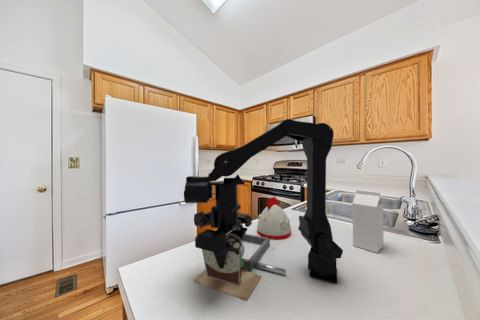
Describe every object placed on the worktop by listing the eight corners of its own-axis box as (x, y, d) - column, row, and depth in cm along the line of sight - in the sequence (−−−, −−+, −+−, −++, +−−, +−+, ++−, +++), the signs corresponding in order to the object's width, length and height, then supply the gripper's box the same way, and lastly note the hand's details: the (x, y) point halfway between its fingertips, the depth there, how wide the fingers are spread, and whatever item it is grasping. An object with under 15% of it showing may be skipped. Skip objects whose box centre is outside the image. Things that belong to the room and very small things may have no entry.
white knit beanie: (250, 232, 78) (249, 197, 78) (270, 224, 87) (270, 192, 87) (277, 243, 68) (276, 202, 68) (297, 232, 77) (296, 196, 77)
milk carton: (377, 253, 59) (376, 194, 59) (352, 245, 65) (352, 191, 65) (383, 246, 64) (383, 191, 64) (360, 239, 69) (359, 189, 69)
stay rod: (286, 273, 50) (285, 268, 50) (284, 276, 49) (284, 271, 49) (251, 264, 55) (251, 259, 54) (250, 267, 53) (249, 262, 53)
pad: (261, 277, 49) (261, 275, 49) (246, 300, 41) (246, 298, 41) (214, 263, 56) (214, 262, 56) (193, 281, 48) (193, 279, 48)
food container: (253, 270, 50) (251, 235, 48) (244, 287, 44) (241, 248, 43) (214, 260, 55) (211, 228, 54) (202, 274, 49) (198, 239, 48)
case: (269, 245, 66) (269, 238, 66) (250, 272, 51) (249, 263, 51) (240, 239, 72) (239, 232, 72) (213, 261, 56) (213, 253, 56)
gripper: (220, 193, 60) (221, 241, 60) (176, 207, 43) (177, 273, 44) (251, 195, 55) (252, 248, 55) (215, 213, 38) (217, 288, 38)
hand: (227, 261), depth 48 cm, fingers open, 6 cm apart
